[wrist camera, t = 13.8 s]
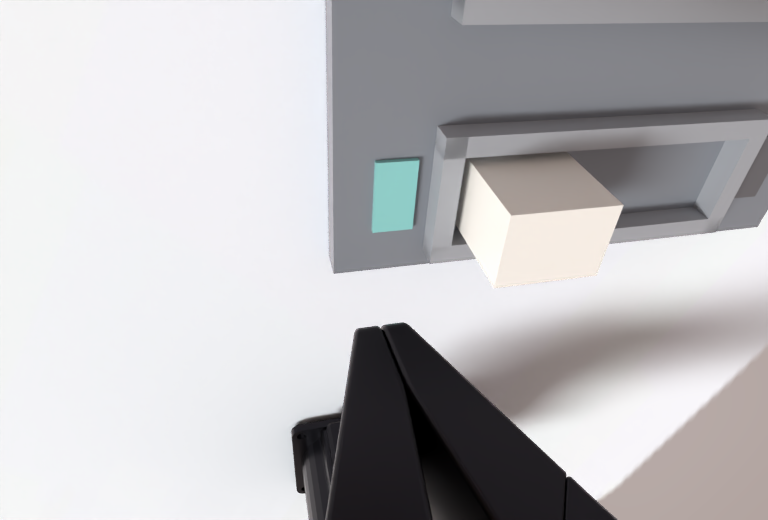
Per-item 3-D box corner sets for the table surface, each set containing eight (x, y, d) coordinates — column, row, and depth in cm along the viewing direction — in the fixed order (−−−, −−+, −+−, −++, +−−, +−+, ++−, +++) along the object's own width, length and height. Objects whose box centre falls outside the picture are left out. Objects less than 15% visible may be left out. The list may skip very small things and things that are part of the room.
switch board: (739, 213, 27) (773, 238, 25) (329, 255, 23) (337, 289, 21) (968, -202, 17) (1049, -206, 16) (321, -274, 13) (336, -290, 11)
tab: (545, 215, 22) (596, 275, 19) (455, 223, 21) (493, 288, 18) (563, 149, 20) (623, 204, 17) (465, 156, 20) (511, 215, 17)
